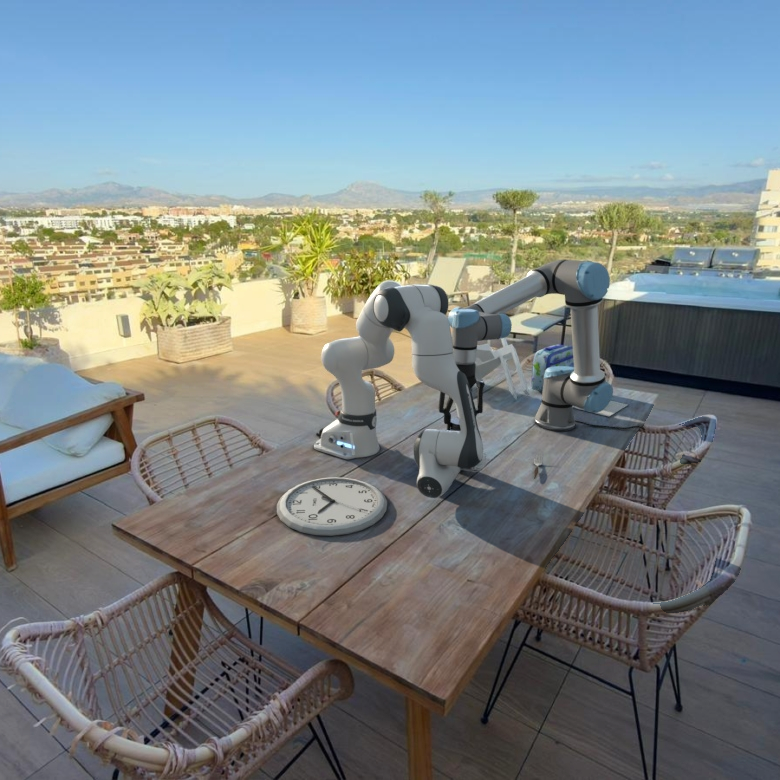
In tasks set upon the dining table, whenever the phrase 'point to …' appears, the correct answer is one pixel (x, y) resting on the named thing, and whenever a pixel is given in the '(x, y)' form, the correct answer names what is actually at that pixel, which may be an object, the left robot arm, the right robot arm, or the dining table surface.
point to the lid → (455, 423)
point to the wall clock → (331, 506)
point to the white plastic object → (494, 358)
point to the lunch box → (550, 362)
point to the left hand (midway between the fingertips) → (458, 447)
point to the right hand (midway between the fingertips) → (458, 433)
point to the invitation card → (610, 408)
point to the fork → (537, 465)
